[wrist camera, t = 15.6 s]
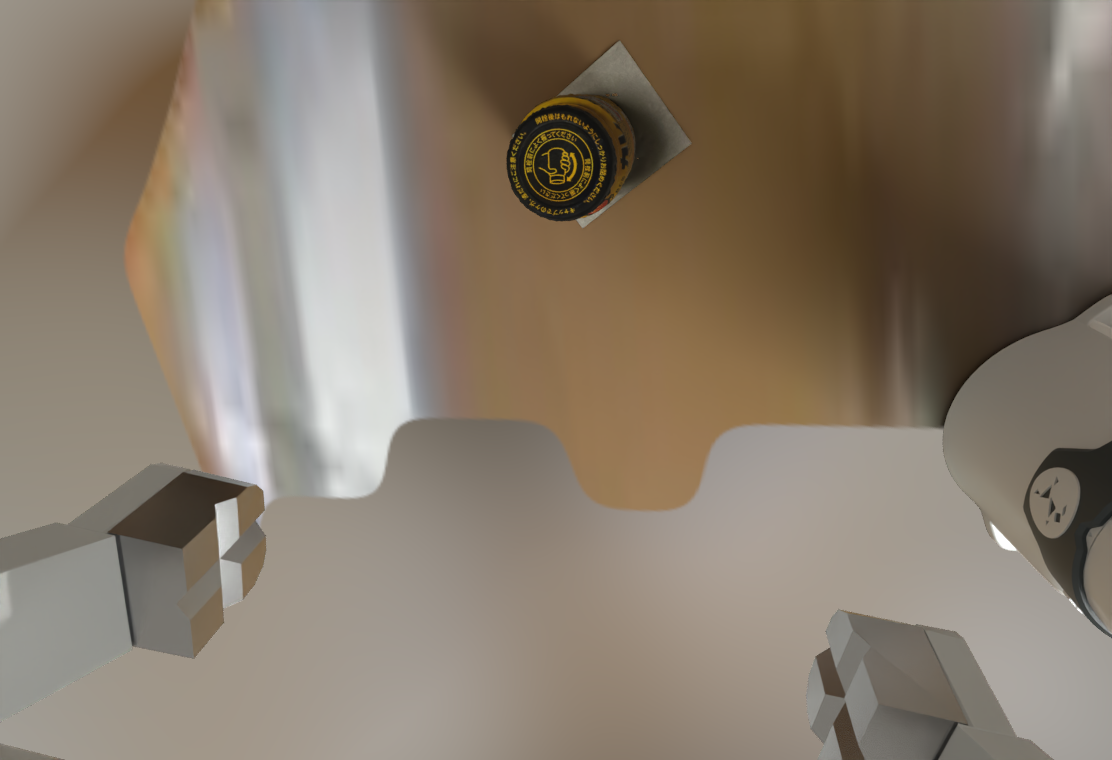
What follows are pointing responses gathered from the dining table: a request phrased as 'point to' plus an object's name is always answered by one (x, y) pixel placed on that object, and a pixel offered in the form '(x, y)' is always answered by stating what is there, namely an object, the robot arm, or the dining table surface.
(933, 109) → the dining table surface
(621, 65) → the condiment
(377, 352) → the dining table surface
